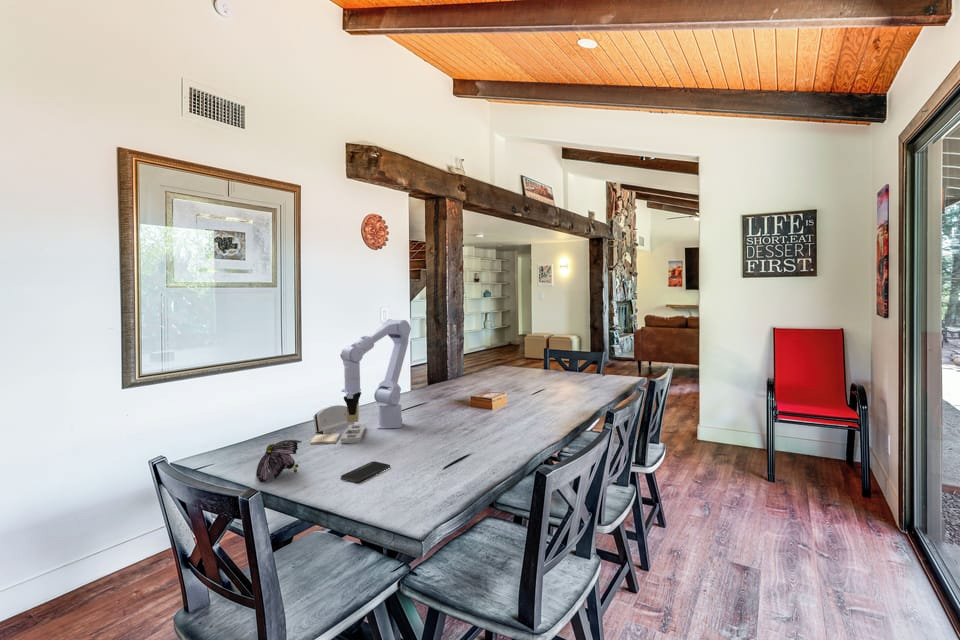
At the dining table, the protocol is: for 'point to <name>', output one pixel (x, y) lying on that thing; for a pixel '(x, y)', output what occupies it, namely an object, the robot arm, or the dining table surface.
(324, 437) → the birch pad
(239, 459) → the dining table surface
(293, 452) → the decorative flower
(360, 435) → the grey peg hole board
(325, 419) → the grey rounded upright block
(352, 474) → the phone
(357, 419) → the brass peg
